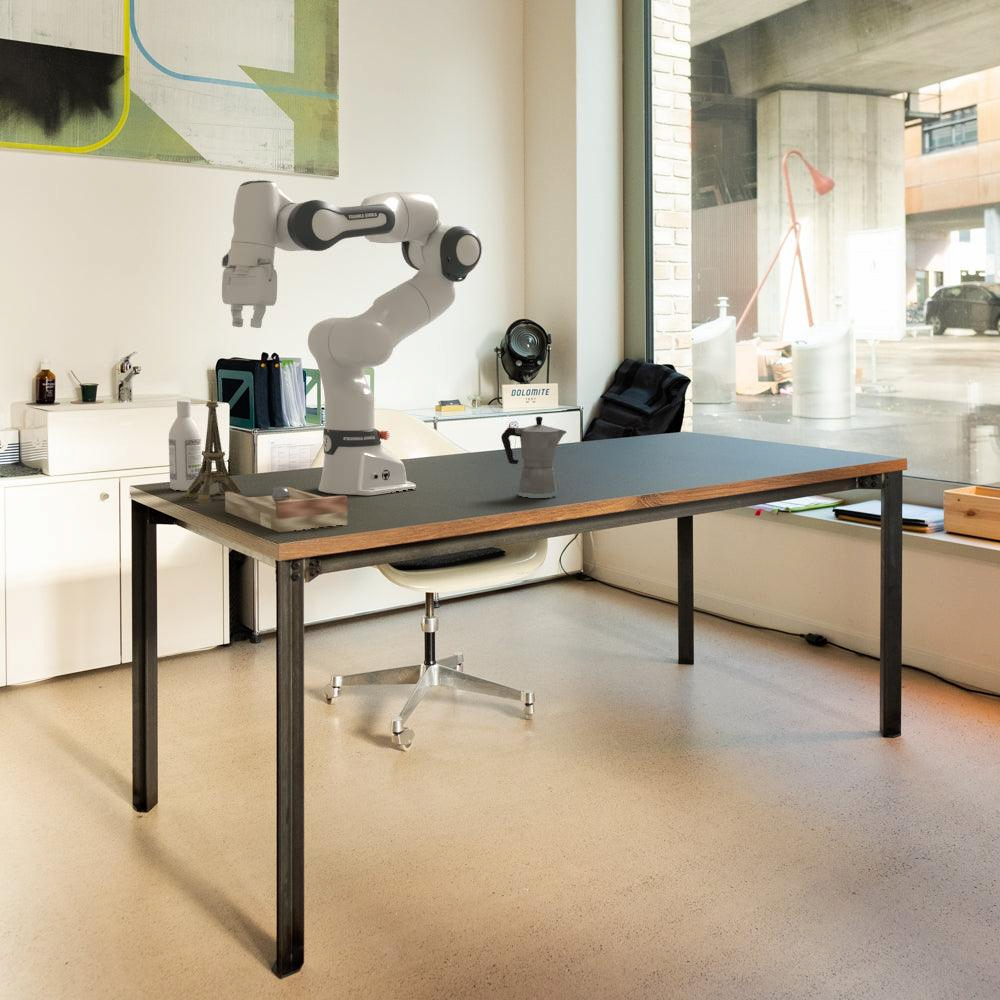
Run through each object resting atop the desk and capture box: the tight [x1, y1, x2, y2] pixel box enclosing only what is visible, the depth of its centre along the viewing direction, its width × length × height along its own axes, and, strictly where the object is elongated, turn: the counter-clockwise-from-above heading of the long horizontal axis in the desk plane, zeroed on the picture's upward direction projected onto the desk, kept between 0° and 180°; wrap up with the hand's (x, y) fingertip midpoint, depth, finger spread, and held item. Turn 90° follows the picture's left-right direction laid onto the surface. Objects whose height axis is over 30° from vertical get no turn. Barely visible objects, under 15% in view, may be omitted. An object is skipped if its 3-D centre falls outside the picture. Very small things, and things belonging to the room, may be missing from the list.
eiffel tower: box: [182, 381, 243, 504], centre depth 234 cm, size 11×11×25 cm
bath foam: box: [168, 399, 203, 492], centre depth 245 cm, size 7×7×20 cm
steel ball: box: [271, 486, 290, 503], centre depth 214 cm, size 4×4×4 cm
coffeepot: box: [501, 416, 567, 494], centre depth 245 cm, size 15×9×18 cm, turn 109°
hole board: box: [224, 486, 348, 533], centre depth 213 cm, size 14×25×6 cm, turn 37°
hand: (246, 327), depth 226 cm, fingers open, 8 cm apart
